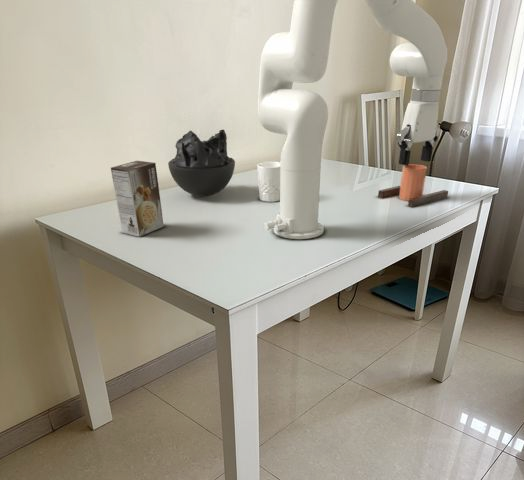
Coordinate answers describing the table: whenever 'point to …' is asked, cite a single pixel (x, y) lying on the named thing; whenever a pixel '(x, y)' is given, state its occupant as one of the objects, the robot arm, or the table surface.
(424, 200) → the guide rails
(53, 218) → the table surface
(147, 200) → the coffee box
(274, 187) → the white cup
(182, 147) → the bowl of black rocks
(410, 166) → the peach cup
